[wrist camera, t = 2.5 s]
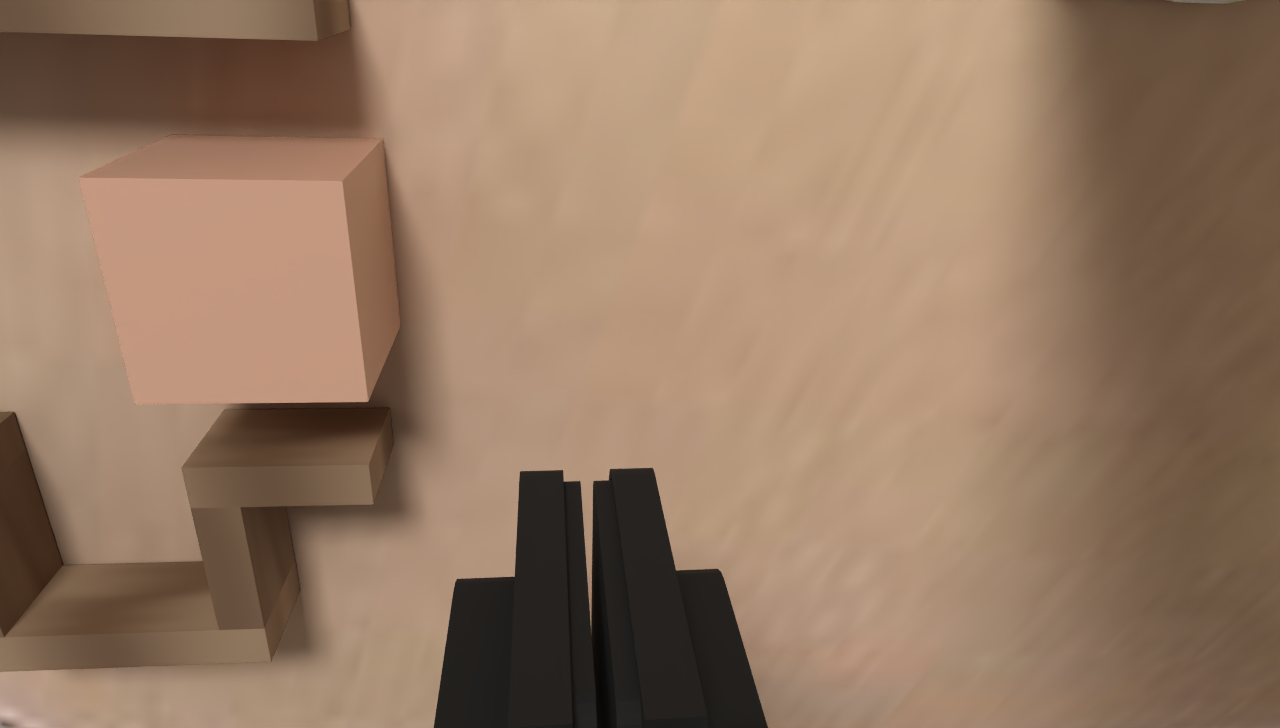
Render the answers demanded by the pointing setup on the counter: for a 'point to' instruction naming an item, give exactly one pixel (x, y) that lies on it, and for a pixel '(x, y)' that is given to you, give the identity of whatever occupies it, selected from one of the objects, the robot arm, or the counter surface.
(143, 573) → the channel
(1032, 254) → the counter surface
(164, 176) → the block
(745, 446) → the counter surface
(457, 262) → the counter surface
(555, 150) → the counter surface
